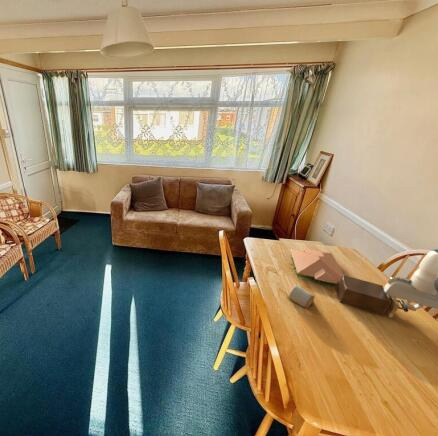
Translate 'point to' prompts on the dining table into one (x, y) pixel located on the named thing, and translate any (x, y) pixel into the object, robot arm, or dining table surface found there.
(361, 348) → the dining table surface
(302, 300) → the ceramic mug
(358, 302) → the cabinet
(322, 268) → the house
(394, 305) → the drawer
